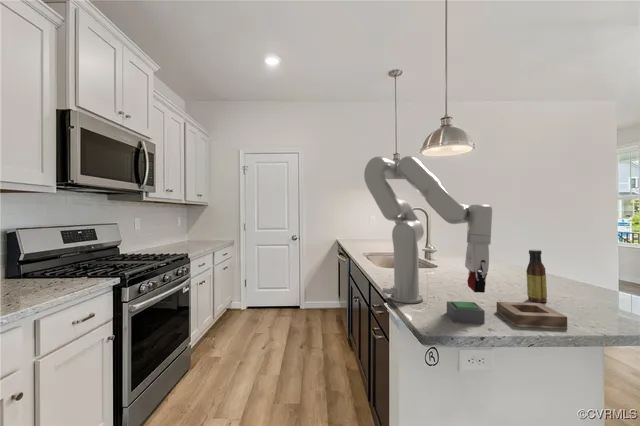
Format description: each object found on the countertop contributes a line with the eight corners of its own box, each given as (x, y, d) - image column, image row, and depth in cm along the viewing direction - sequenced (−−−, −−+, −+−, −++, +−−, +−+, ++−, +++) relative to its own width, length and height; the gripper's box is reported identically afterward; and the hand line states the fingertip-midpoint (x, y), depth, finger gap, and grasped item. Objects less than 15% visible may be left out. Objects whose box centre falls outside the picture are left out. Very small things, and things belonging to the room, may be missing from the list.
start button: (457, 316, 98) (457, 306, 98) (452, 310, 104) (452, 301, 104) (477, 316, 97) (477, 307, 97) (471, 310, 103) (471, 302, 103)
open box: (516, 326, 93) (516, 314, 93) (496, 311, 107) (496, 301, 107) (567, 328, 91) (567, 316, 91) (540, 313, 104) (540, 303, 104)
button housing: (454, 322, 97) (454, 309, 97) (446, 312, 106) (446, 301, 106) (484, 323, 95) (484, 310, 95) (474, 313, 104) (474, 302, 104)
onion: (488, 295, 106) (489, 272, 106) (471, 294, 106) (472, 271, 106) (479, 290, 112) (481, 268, 112) (464, 289, 112) (465, 268, 112)
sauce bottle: (540, 298, 122) (540, 249, 122) (550, 303, 116) (550, 251, 116) (523, 298, 123) (522, 249, 123) (532, 302, 117) (532, 250, 117)
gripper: (460, 236, 118) (457, 282, 118) (476, 241, 100) (473, 295, 101) (480, 237, 116) (478, 284, 117) (500, 242, 99) (497, 297, 100)
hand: (476, 289), depth 109 cm, fingers closed on onion, 5 cm apart
